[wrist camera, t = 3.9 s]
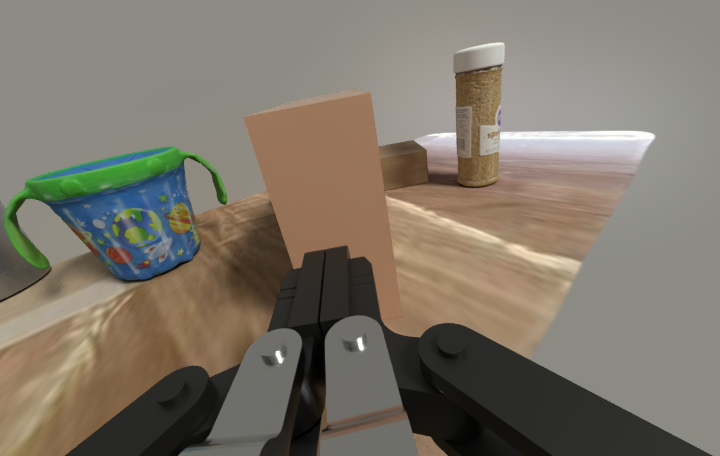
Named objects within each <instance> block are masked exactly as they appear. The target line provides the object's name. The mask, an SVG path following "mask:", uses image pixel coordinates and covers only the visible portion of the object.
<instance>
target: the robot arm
mask: <svg viewBox="0 0 720 456" xmlns="http://www.w3.org/2000/svg"><path fill="white" fill-rule="evenodd" d="M5 211H6V208H5V207H4V205H3V204H2V203H1V201H0V300H2V299H4V298H6V297H9V296H11V295H13V294H15V293H16V292H18V291H20V290H22V289H24V288H26V287H27V286H29V285H31V284H32V283H34V282H36V281H37V280H39V279H40V278H41V277H43V276H44V275H45V274H46V273H47V272H48V271H49V270H50V267H51V266H49V268H48V269H45V270H41V269H38V268H36V267H34V266H32V265H31V264H29V263H28V262H27V261H26V260H25V259H24V258H23V257H22V256H21V255H20V254H19V253H18V252H17V251H16V249H15V248H14V246H13V245H12V243H11V241H10V239H9V237H8V235H7V232H6V229H5V224H4V215H5ZM19 228H20V231H21V232H22V233H23V234H24V235H25V236H26V237H27V238H28V236H27V235H26V234H25V232H24V231H23V230H22V228H21V227H20V226H19ZM28 240H29V241H30V242H31V240H30V239H29V238H28ZM31 243H32V242H31ZM32 244H33V243H32ZM33 245H34V244H33ZM34 246H35V245H34ZM325 400H326V403H327V408H326V405H325ZM413 433H416V434H421V435H425V436H430V437H431V438H432V439H433V441H434V442H435V443H436V444H437V446H438V447H439V448H441V449H442V450H443V451H444V452H445V453H446V454H447V455H448V456H712V455H710V454H708V453H706V452H704V451H703V450H701V449H699V448H697V447H695V446H693V445H691V444H689V443H687V442H685V441H683V440H682V439H680V438H678V437H676V436H674V435H672V434H670V433H668V432H666V431H664V430H662V429H660V428H659V427H657V426H655V425H653V424H651V423H649V422H647V421H645V420H643V419H641V418H640V417H638V416H636V415H634V414H632V413H630V412H628V411H626V410H624V409H622V408H620V407H618V406H617V405H615V404H613V403H611V402H609V401H607V400H605V399H603V398H601V397H599V396H598V395H596V394H594V393H592V392H590V391H588V390H586V389H584V388H582V387H580V386H578V385H577V384H575V383H573V382H571V381H569V380H567V379H565V378H563V377H561V376H559V375H557V374H556V373H554V372H552V371H550V370H548V369H546V368H544V367H542V366H540V365H538V364H537V363H535V362H533V361H531V360H529V359H527V358H525V357H523V356H521V355H519V354H517V353H516V352H514V351H512V350H510V349H508V348H506V347H504V346H502V345H500V344H498V343H496V342H495V341H493V340H491V339H489V338H487V337H485V336H483V335H481V334H479V333H477V332H475V331H474V330H472V329H470V328H468V327H465V326H463V325H459V324H454V323H443V324H438V325H435V326H432V327H431V328H429V329H427V330H426V331H425V332H424V333H423V334H422V336H421V338H419V337H409V336H403V335H400V334H397V333H394V332H393V331H391V330H389V329H388V328H387V327H386V326H385V325H384V324H383V322H382V319H381V313H380V307H379V302H378V296H377V291H376V285H375V280H374V274H373V269H372V264H371V263H370V262H369V261H368V260H367V259H366V258H365V257H364V256H363V257H357V258H352V259H351V258H350V253H349V249H348V246H347V245H345V246H339V247H334V248H328V249H327V250H326V249H323V250H317V251H312V252H306V253H305V254H304V257H303V262H302V266H301V268H296V269H292V270H291V271H290V272H289V273H288V275H287V276H286V277H285V278H284V279H283V282H282V286H281V289H280V292H279V295H278V301H277V302H276V305H275V309H274V312H273V315H272V319H271V322H270V325H269V329H268V332H267V333H266V334H264V335H262V336H261V337H259V338H258V339H257V340H256V341H254V342H253V344H252V345H251V346H250V347H249V349H248V350H247V352H246V354H245V356H244V358H243V361H242V363H241V364H239V365H237V366H235V367H232V368H230V369H228V370H226V371H223V372H221V373H219V374H217V375H214V376H212V377H209V375H208V373H207V372H206V370H205V369H204V368H202V367H199V366H188V367H184V368H181V369H178V370H176V371H174V372H172V373H171V374H169V375H167V376H166V377H164V378H163V379H162V380H160V381H159V382H158V383H156V384H155V385H154V386H153V387H151V388H150V389H149V390H148V391H146V392H145V393H144V394H142V395H141V396H140V397H139V398H137V399H136V400H135V401H134V402H132V403H131V404H130V405H129V406H127V407H126V408H125V409H123V410H122V411H121V412H120V413H118V414H117V415H116V416H115V417H113V418H112V419H111V420H110V421H108V422H107V423H106V424H104V425H103V426H102V427H101V428H99V429H98V430H97V431H96V432H94V433H93V434H92V435H90V436H89V437H88V438H87V439H85V440H84V441H83V442H82V443H80V444H79V445H78V446H77V447H75V448H74V449H73V450H71V451H70V452H69V453H68V454H66V455H65V456H419V455H418V451H417V448H416V444H415V440H414V437H413Z"/></svg>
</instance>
